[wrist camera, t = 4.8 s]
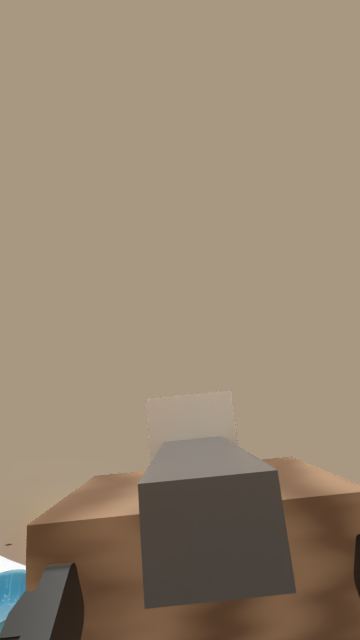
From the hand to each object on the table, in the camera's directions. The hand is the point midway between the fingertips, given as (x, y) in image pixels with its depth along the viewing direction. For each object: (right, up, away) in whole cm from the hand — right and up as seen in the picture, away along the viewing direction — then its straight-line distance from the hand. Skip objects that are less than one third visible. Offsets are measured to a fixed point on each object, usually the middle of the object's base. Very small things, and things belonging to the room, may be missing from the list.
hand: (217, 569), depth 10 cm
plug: (0, -3, +8) cm, 9 cm away
